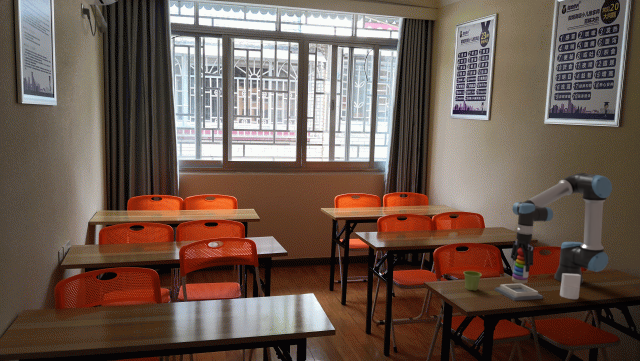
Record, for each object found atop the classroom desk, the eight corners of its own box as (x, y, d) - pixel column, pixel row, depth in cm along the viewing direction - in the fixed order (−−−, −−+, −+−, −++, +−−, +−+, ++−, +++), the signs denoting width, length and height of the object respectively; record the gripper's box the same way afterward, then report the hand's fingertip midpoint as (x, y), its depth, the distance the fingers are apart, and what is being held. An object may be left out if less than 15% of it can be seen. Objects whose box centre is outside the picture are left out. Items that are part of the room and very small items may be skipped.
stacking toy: (529, 284, 268) (533, 249, 266) (514, 283, 268) (518, 248, 266) (524, 279, 276) (527, 245, 274) (509, 278, 276) (512, 244, 274)
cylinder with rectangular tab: (573, 293, 279) (576, 272, 277) (581, 299, 270) (584, 277, 268) (556, 292, 279) (559, 271, 278) (564, 298, 270) (566, 276, 269)
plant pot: (474, 293, 271) (475, 277, 270) (458, 288, 278) (460, 272, 277) (483, 289, 278) (485, 274, 276) (468, 285, 285) (469, 269, 283)
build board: (522, 288, 283) (522, 282, 283) (542, 298, 268) (543, 292, 268) (494, 290, 278) (495, 283, 277) (513, 300, 263) (514, 294, 262)
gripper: (506, 228, 277) (502, 269, 280) (531, 237, 258) (527, 281, 261) (517, 228, 280) (513, 269, 282) (544, 237, 260) (539, 280, 263)
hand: (520, 275), depth 272 cm, fingers closed on stacking toy, 7 cm apart
